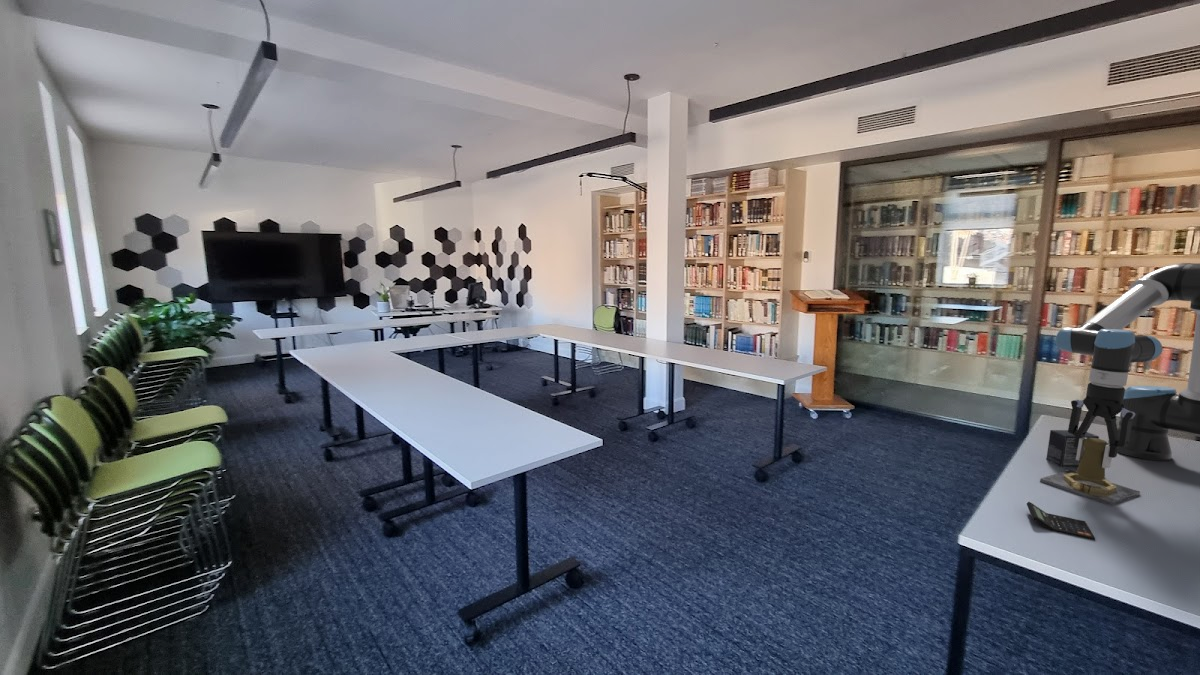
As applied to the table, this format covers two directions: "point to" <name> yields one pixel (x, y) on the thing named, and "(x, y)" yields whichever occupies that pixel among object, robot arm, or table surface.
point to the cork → (1092, 459)
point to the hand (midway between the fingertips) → (1092, 463)
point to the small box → (1064, 448)
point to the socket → (1090, 487)
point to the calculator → (1060, 523)
